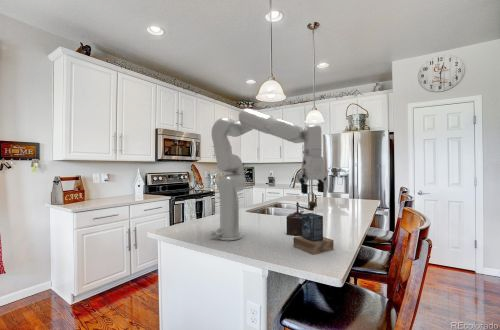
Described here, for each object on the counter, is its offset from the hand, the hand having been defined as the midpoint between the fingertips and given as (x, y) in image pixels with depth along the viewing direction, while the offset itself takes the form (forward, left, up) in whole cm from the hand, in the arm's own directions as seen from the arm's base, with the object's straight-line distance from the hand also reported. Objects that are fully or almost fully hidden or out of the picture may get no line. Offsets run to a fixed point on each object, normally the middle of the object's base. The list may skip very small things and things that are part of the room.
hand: (312, 192), depth 110 cm
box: (0, 0, -20) cm, 20 cm away
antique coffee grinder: (+12, +20, -24) cm, 34 cm away
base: (0, 0, -24) cm, 24 cm away
